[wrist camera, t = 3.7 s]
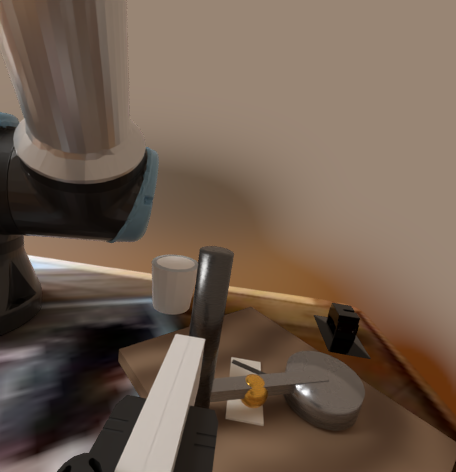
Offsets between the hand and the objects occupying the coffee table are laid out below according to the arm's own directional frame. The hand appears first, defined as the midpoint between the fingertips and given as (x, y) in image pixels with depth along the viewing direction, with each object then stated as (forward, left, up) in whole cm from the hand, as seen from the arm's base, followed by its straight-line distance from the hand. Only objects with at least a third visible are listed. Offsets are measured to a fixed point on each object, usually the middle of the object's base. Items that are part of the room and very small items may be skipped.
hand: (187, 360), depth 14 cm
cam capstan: (-2, +11, -10) cm, 15 cm away
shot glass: (-24, +14, -13) cm, 30 cm away
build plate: (-5, +32, -13) cm, 35 cm away
